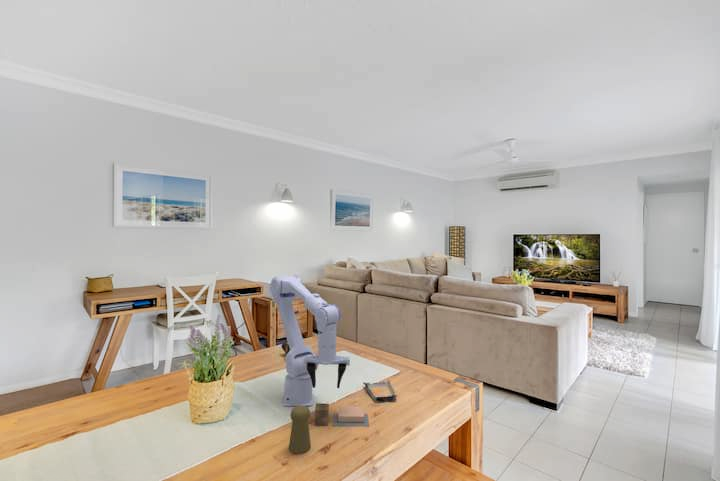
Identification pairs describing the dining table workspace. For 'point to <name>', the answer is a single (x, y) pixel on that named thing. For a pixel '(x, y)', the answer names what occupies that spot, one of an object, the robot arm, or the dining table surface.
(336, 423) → the felt mat
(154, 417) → the dining table surface
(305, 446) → the olive green pepper mill
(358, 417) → the glazed tile
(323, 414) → the walnut block
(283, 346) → the pottery mug
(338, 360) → the robot arm
